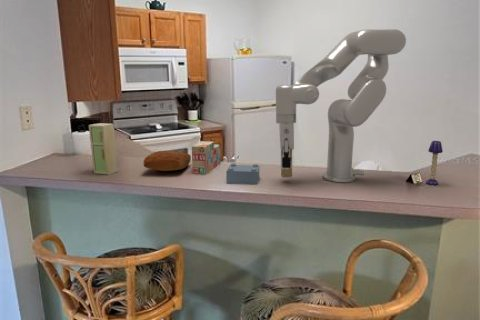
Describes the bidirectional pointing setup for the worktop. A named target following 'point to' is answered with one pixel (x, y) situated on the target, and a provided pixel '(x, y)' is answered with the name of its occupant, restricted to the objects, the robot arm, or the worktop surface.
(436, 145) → the toy lamp
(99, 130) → the toy refrigerator
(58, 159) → the worktop surface
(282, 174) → the sprinkles bottle
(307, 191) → the worktop surface
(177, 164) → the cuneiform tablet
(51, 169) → the worktop surface
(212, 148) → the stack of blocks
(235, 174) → the base brick
